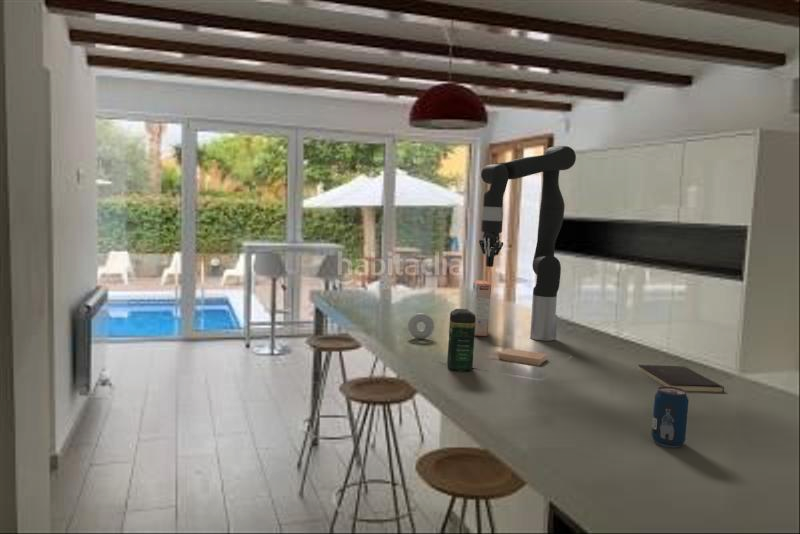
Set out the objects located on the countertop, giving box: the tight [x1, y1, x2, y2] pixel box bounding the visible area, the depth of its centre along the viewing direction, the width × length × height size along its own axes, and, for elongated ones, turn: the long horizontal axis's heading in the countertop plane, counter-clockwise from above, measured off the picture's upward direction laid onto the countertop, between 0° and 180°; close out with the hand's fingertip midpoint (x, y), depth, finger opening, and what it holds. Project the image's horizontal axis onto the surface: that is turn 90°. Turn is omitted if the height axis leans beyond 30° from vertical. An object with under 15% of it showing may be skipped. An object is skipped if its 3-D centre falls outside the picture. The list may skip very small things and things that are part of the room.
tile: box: [498, 348, 548, 366], centre depth 213 cm, size 2×9×14 cm
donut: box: [407, 312, 435, 340], centre depth 242 cm, size 10×4×10 cm, turn 95°
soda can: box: [651, 386, 689, 448], centre depth 142 cm, size 7×7×12 cm
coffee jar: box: [446, 308, 476, 372], centre depth 200 cm, size 10×8×19 cm
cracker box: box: [471, 279, 492, 337], centre depth 257 cm, size 14×6×21 cm, turn 179°
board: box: [485, 351, 549, 367], centre depth 214 cm, size 12×18×1 cm, turn 62°
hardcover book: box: [637, 364, 725, 393], centre depth 197 cm, size 16×23×2 cm
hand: (489, 266), depth 235 cm, fingers closed
